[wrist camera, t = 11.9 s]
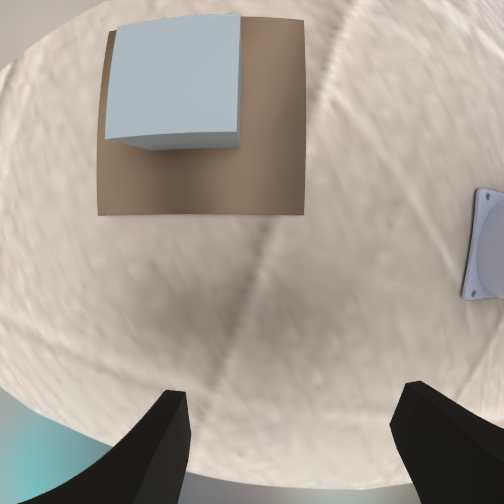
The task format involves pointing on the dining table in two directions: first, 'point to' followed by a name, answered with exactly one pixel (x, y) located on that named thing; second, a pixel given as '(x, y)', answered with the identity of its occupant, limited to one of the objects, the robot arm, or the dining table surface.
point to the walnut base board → (222, 159)
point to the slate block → (176, 83)
